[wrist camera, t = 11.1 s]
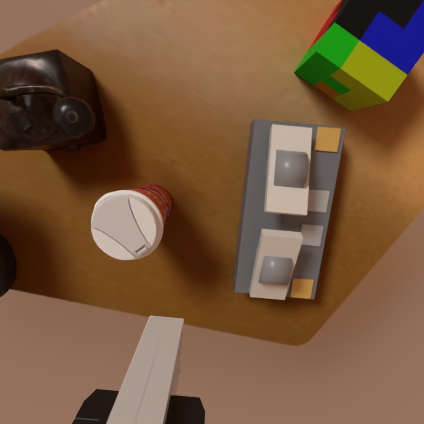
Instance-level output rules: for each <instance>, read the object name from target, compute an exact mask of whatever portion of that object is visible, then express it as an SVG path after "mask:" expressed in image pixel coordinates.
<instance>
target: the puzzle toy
mask: <svg viewBox="0 0 424 424" xmlns="http://www.w3.org/2000/svg"><path fill="white" fill-rule="evenodd" d="M423 53H424V0H341V1H340V2H339V3H338V4H337V6H336V7H335V9H334V10H333V12H332V14H331V15H330V17H329V18H328V20H327V21H326V23H325V25H324V26H323V28H322V29H321V31H320V32H319V34H318V36H317V37H316V39H315V40H314V42H313V44H312V45H311V47H310V48H309V50H308V51H307V53H306V55H305V56H304V58H303V59H302V61H301V62H300V64H299V66H298V67H297V69H296V70H295V72H294V73H295V74H297V75H298V76H300V77H301V78H303V79H304V80H305V81H307V82H308V83H310V84H311V85H313V86H314V87H316V88H317V89H319V90H320V91H321V92H323V93H324V94H326V95H327V96H329V97H330V98H332V99H333V100H335V101H336V102H337V103H339V104H340V105H342V106H343V107H345V108H346V109H348V110H349V111H354V110H358V109H362V108H366V107H370V106H374V105H378V104H382V103H386V102H388V101H389V100H390V99H391V97H392V96H393V94H394V93H395V92H396V90H397V89H398V87H399V86H400V85H401V83H402V82H403V80H404V79H405V78H406V76H407V75H408V74H409V72H410V71H411V69H412V68H413V67H414V65H415V64H416V62H417V61H418V60H419V58H420V57H421V55H422V54H423Z"/></svg>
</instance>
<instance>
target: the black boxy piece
mask: <svg viewBox="0 0 424 424" xmlns="http://www.w3.org/2000/svg"><path fill="white" fill-rule="evenodd" d="M103 140H106V131H105V122H104V117H103V113H102V108H101V104H100V99H99V95H98V90H97V87H96V85H95V82H94V79H93V76H92V74H91V71H90V69H88V68H86V67H85V66H83V65H82V64H80V63H79V62H77V61H75V60H74V59H72V58H71V57H69V56H67V55H66V54H64V53H63V52H61V51H59V50H57V49H56V50H51V51H45V52H40V53H34V54H28V55H22V56H15V57H8V58H4V59H0V150H3V151H17V150H43V151H49V150H59V149H66V151H74V150H78V149H80V147H81V146H84V145H89V144H95V143H98V142H101V141H103Z"/></svg>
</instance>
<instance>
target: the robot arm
mask: <svg viewBox="0 0 424 424" xmlns="http://www.w3.org/2000/svg"><path fill="white" fill-rule="evenodd" d="M15 275H16V262H15V258H14V254H13V252H12V250H11V248H10V246H9V244H8V243H7V241H6V240H5V239H4V238H3V236H2V235H1V234H0V297H1V296H3V295H4V294H5V293H6V292H7V291H8V290H9V289H10V287H11V286H12V284H13V282H14V279H15ZM183 322H184V319H181V318H170V317H159V316H149V319H148V321H147V324H146V326H145V329H144V331H143V334H142V336H141V339H140V341H139V344H138V346H137V349H136V351H135V354H134V356H133V359H132V361H131V364H130V366H129V369H128V371H127V374H126V376H125V378H124V381H123V383H122V386H121V388H120V391H112V390H102V389H96V390H95V391H94V392H93V393H92V394H91V395H90V396H89V397H88V398H87V399H86V400H85V401H84V402H83V404H82V406H81V408H80V410H79V412H78V413H77V415H76V419H75V420H74V421H73V423H72V424H204V422H205V410H204V408H203V405H202V402H201V400H200V398H197V397H188V396H177V395H176V390H177V384H178V379H179V373H180V362H181V349H182V335H183Z"/></svg>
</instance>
